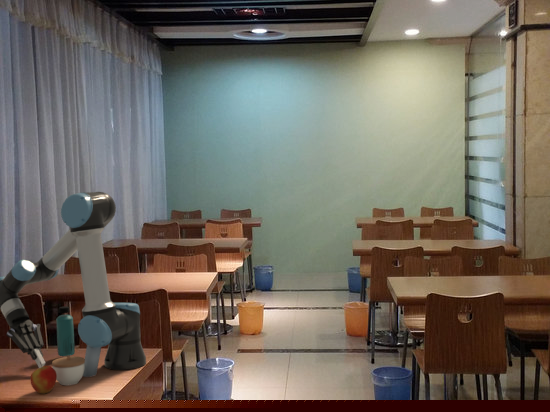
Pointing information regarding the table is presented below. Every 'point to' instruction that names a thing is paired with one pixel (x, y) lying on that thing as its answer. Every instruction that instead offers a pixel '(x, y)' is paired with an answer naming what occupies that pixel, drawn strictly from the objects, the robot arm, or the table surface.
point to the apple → (43, 379)
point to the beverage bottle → (65, 333)
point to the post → (91, 361)
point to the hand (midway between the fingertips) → (42, 365)
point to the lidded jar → (69, 369)
